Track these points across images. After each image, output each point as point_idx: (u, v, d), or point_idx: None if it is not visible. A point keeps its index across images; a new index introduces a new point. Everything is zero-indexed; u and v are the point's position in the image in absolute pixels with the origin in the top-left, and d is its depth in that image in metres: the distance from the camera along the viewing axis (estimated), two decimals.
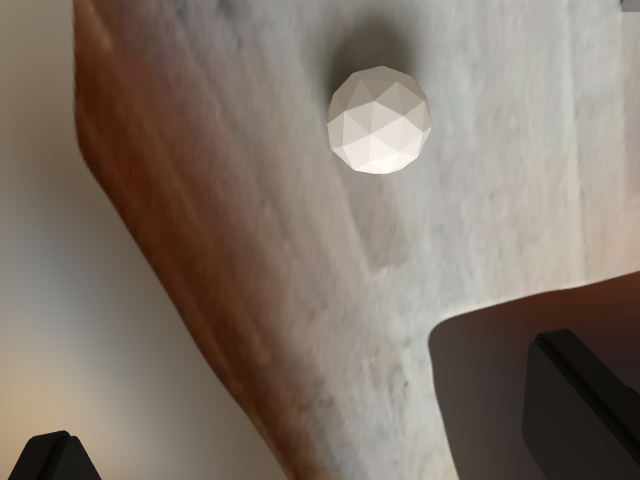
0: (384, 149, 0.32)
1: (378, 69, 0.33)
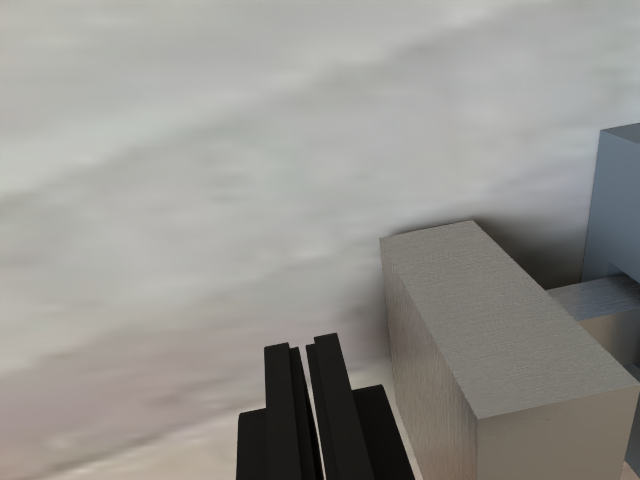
0: None
1: None
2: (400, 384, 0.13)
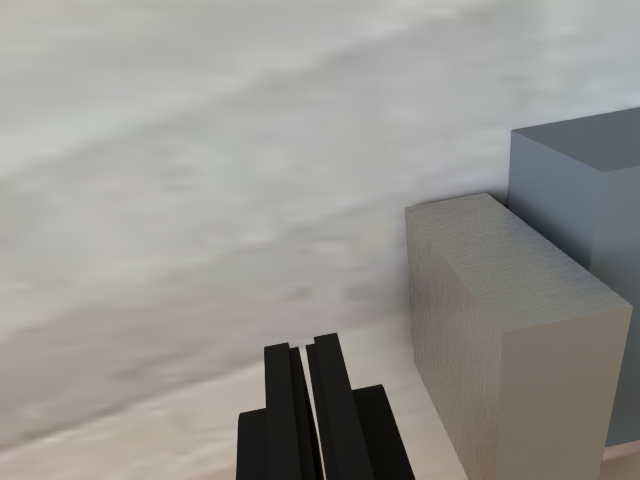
0: None
1: None
2: (420, 340, 0.15)
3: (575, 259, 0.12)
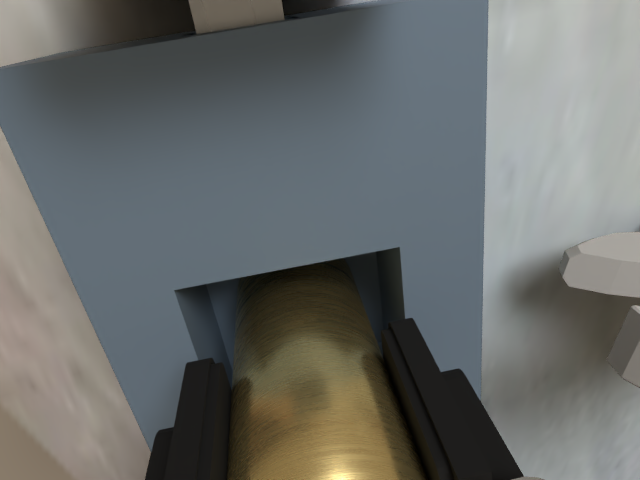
0: None
1: None
2: None
3: (350, 9, 0.09)
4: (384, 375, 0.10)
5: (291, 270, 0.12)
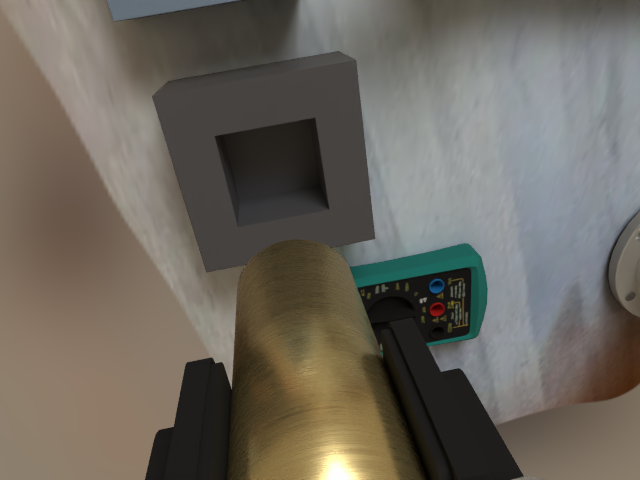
0: None
1: None
2: None
3: None
4: (384, 375, 0.10)
5: (291, 270, 0.12)
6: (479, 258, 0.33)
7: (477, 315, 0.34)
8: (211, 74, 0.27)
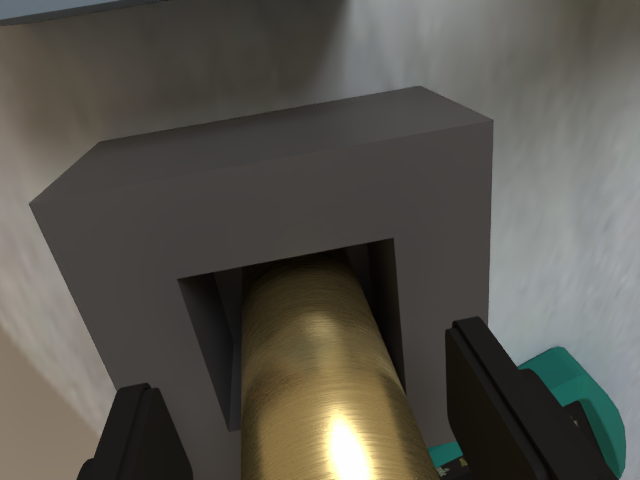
0: None
1: None
2: None
3: None
4: (376, 333, 0.11)
5: None
6: (587, 379, 0.19)
7: (614, 455, 0.20)
8: (180, 130, 0.14)
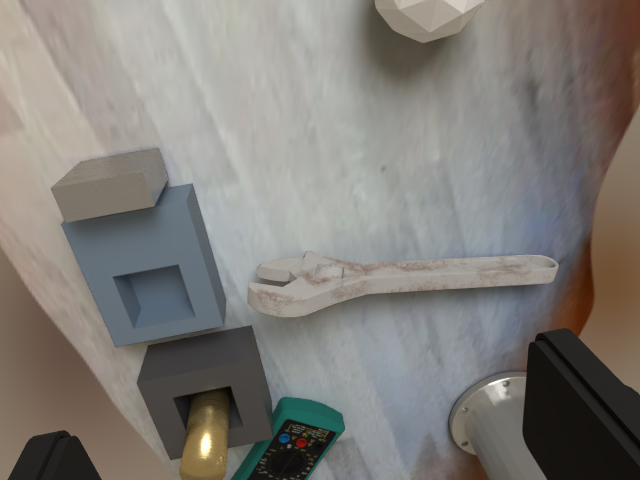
0: None
1: (431, 40, 0.32)
2: (100, 160, 0.35)
3: None
4: (222, 412, 0.41)
5: None
6: (285, 411, 0.48)
7: (323, 428, 0.49)
8: (174, 342, 0.44)
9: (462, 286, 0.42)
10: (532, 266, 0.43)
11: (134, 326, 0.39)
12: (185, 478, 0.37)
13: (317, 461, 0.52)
